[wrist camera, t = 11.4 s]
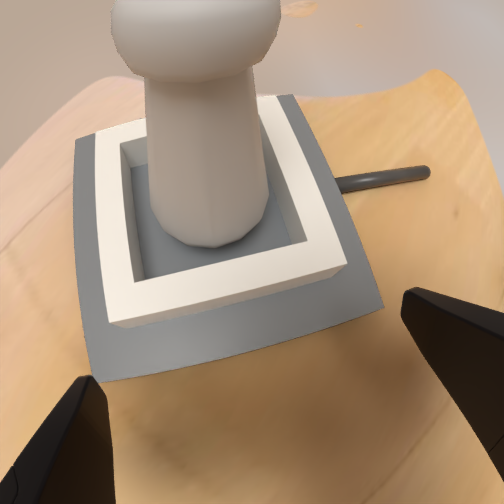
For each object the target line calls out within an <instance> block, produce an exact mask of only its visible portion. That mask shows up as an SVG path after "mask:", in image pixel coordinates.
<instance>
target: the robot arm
mask: <svg viewBox="0 0 504 504" xmlns="http://www.w3.org/2000/svg"><path fill="white" fill-rule="evenodd" d="M401 318H402V321H403V322H404V324H405V326H406V327H407V329H408V331H409V332H410V334H411V336H412V337H413V339H414V341H415V343H416V344H417V346H418V348H419V350H420V351H421V353H422V355H423V356H424V358H425V359H426V361H427V362H428V364H429V365H430V367H431V368H432V369H433V371H434V372H435V374H436V375H437V376H438V378H439V379H440V381H441V382H442V384H443V385H444V387H445V388H446V389H447V391H448V392H449V394H450V395H451V397H452V398H453V400H454V401H455V403H456V404H457V406H458V407H459V409H460V410H461V412H462V413H463V415H464V416H465V418H466V420H467V421H468V423H469V424H470V426H471V427H472V429H473V431H474V432H475V434H476V435H477V437H478V439H479V440H480V442H481V443H482V445H483V447H484V448H485V450H486V452H487V453H488V455H489V457H490V459H491V460H492V462H493V464H494V466H495V467H496V469H497V471H498V473H499V474H500V476H501V478H502V480H503V481H504V313H502V312H499V311H495V310H492V309H489V308H486V307H482V306H479V305H476V304H472V303H469V302H466V301H462V300H459V299H456V298H453V297H449V296H446V295H443V294H439V293H436V292H433V291H429V290H426V289H422V288H419V287H414V288H411V289H409V290H406V291H405V292H404V295H403V301H402V307H401ZM0 504H116V498H115V485H114V467H113V447H112V438H111V430H110V421H109V412H108V401H107V397H106V395H105V393H104V391H103V390H102V389H101V387H100V386H99V384H98V383H97V381H96V380H95V378H94V377H93V376H92V375H85V376H79V377H78V378H77V379H76V380H75V381H74V382H73V384H72V385H71V386H70V387H69V389H68V390H67V391H66V393H65V394H64V395H63V397H62V398H61V399H60V400H59V402H58V403H57V404H56V406H55V407H54V408H53V410H52V411H51V412H50V414H49V415H48V416H47V418H46V419H45V420H44V422H43V423H42V424H41V426H40V427H39V428H38V430H37V431H36V433H35V434H34V435H33V437H32V438H31V439H30V441H29V442H28V444H27V445H26V446H25V448H24V449H23V451H22V452H21V454H20V455H19V456H18V458H17V459H16V461H15V462H14V464H13V466H11V468H10V469H9V471H8V472H7V474H6V475H5V477H4V478H3V479H2V481H1V482H0Z"/></svg>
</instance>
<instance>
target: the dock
mask: <svg viewBox="0 0 504 504" xmlns="http://www.w3.org/2000/svg"><path fill="white" fill-rule="evenodd" d="M256 99H257V107H258V115H259V123H260V132H261V140H262V148H263V156H264V163H265V169H266V176H267V183H268V190H269V197H268V200H267V204H266V207H265V210H264V213H263V216H262V219H261V220H260V222H259V223H258V224H257V225H256V226H254V227H253V228H252V229H251V230H250V231H249V232H248V233H247V234H246V235H245V236H244V237H243V238H242V239H240V240H238V241H235V242H232V243H229V244H226V245H223V246H220V247H217V248H206V247H196V246H187V245H186V244H184V243H182V242H181V241H179V240H177V239H176V238H174V237H172V236H171V235H169V234H167V233H166V232H165V231H164V230H163V229H162V227H161V225H160V223H159V222H158V220H157V218H156V216H155V215H154V213H153V211H152V209H151V206H150V192H149V176H148V155H147V133H146V118H143V119H139V120H135V121H131V122H128V123H124V124H120V125H117V126H113V127H110V128H107V129H103V130H100V131H97V132H96V133H94V134H91V135H88V136H85V137H82V138H79V139H76V141H75V155H74V176H73V228H74V249H75V263H76V275H77V285H78V294H79V302H80V310H81V317H82V323H83V329H84V335H85V341H86V347H87V352H88V357H89V362H90V366H91V371H92V375H93V377H94V378H95V380H96V381H97V383H102V382H109V381H115V380H121V379H127V378H133V377H139V376H144V375H149V374H155V373H160V372H165V371H170V370H174V369H179V368H184V367H188V366H193V365H197V364H201V363H206V362H210V361H214V360H218V359H222V358H226V357H230V356H234V355H238V354H242V353H246V352H249V351H253V350H257V349H260V348H264V347H267V346H271V345H274V344H278V343H281V342H285V341H288V340H291V339H295V338H298V337H301V336H304V335H308V334H311V333H314V332H317V331H320V330H323V329H326V328H329V327H332V326H335V325H338V324H341V323H344V322H347V321H350V320H352V319H355V318H358V317H361V316H364V315H366V314H369V313H372V312H374V311H377V310H380V309H382V308H384V305H383V302H382V299H381V296H380V293H379V290H378V287H377V284H376V281H375V279H374V276H373V273H372V270H371V267H370V265H369V262H368V259H367V257H366V254H365V251H364V249H363V246H362V243H361V241H360V238H359V236H358V233H357V231H356V228H355V226H354V223H353V221H352V218H351V216H350V213H349V211H348V209H347V206H346V204H345V202H344V199H343V197H342V195H341V193H344V192H350V191H355V190H361V189H366V188H372V187H378V186H383V185H389V184H395V183H401V182H407V181H413V180H420V179H426V178H428V177H429V176H430V173H431V171H430V169H429V167H427V166H425V165H422V166H414V167H406V168H399V169H392V170H384V171H378V172H371V173H364V174H358V175H351V176H345V177H339V178H334V176H333V174H332V172H331V170H330V168H329V166H328V163H327V161H326V159H325V157H324V155H323V153H322V151H321V149H320V147H319V144H318V142H317V140H316V138H315V136H314V134H313V132H312V130H311V128H310V126H309V124H308V122H307V120H306V119H305V117H304V115H303V113H302V111H301V109H300V107H299V105H298V103H297V101H296V100H295V98H294V96H293V94H291V95H280V96H276V95H271V96H262V97H256Z"/></svg>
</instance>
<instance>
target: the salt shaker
mask: <svg viewBox="0 0 504 504" xmlns="http://www.w3.org/2000/svg"><path fill="white" fill-rule="evenodd" d="M280 19H281V8H280V0H116V1H115V3H114V5H113V8H112V10H111V33H112V36H113V40H114V43H115V46H116V49H117V52H118V53H119V54H120V56H121V57H122V59H123V60H124V61H125V63H126V64H127V66H128V67H129V68H130V70H131V71H132V72H133V73H134V74H136V75H140V76H143V77H144V82H145V114H146V133H147V155H148V176H149V192H150V206H151V209H152V211H153V213H154V215H155V216H156V218H157V220H158V222H159V223H160V225H161V227H162V229H163V230H164V231H165V232H166V233H167V234H169V235H171V236H172V237H174V238H176V239H177V240H179V241H181V242H182V243H184V244H186V245H187V246H196V247H206V248H217V247H220V246H223V245H226V244H229V243H232V242H235V241H238V240H240V239H242V238H243V237H244V236H245V235H246V234H247V233H248V232H249V231H250V230H251V229H252V228H253V227H254V226H256V225H257V224H258V223H259V222H260V220H261V219H262V216H263V213H264V210H265V207H266V204H267V200H268V197H269V190H268V183H267V176H266V169H265V163H264V156H263V148H262V140H261V132H260V123H259V115H258V107H257V99H256V91H255V84H254V76H253V69H252V66H253V65H255V64H256V63H259V62H260V61H262V59H263V58H264V56H265V55H266V53H267V52H268V50H269V48H270V46H271V44H272V43H273V41H274V39H275V37H276V35H277V31H278V27H279V23H280Z"/></svg>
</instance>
